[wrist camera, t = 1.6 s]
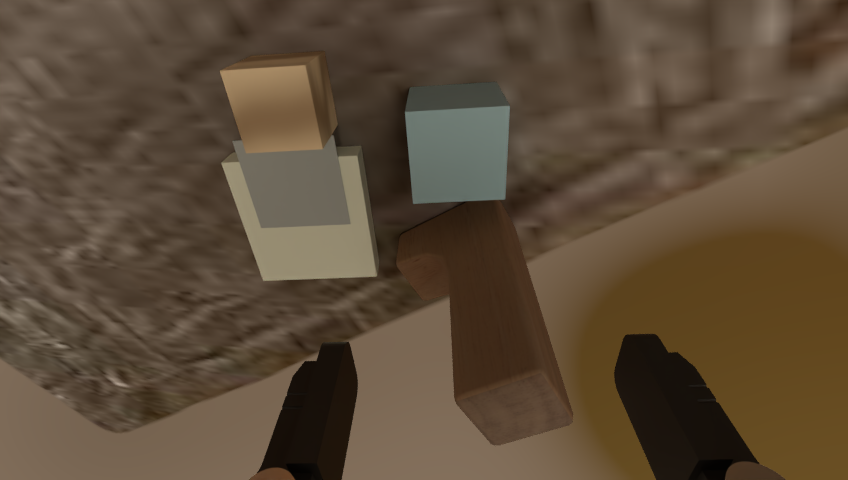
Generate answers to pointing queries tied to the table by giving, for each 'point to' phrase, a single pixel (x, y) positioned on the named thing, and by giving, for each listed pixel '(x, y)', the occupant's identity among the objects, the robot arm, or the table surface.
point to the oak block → (282, 101)
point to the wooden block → (489, 320)
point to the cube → (457, 142)
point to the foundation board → (305, 211)
